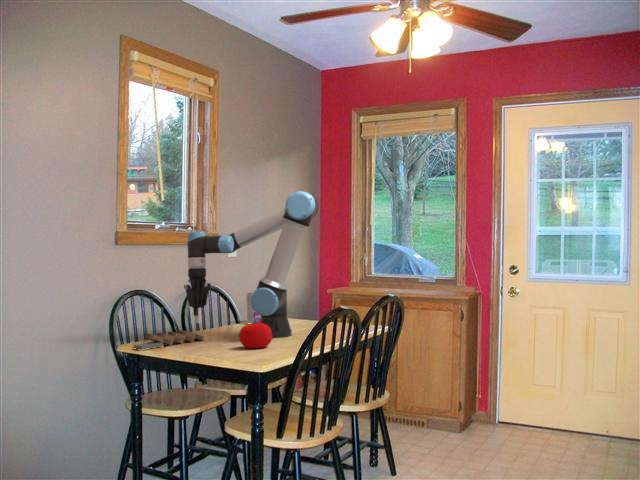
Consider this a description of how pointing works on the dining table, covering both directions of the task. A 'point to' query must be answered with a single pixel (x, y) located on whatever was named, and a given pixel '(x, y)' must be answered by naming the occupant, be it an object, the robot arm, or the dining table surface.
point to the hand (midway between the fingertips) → (198, 322)
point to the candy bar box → (252, 311)
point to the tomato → (255, 335)
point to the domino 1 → (148, 345)
